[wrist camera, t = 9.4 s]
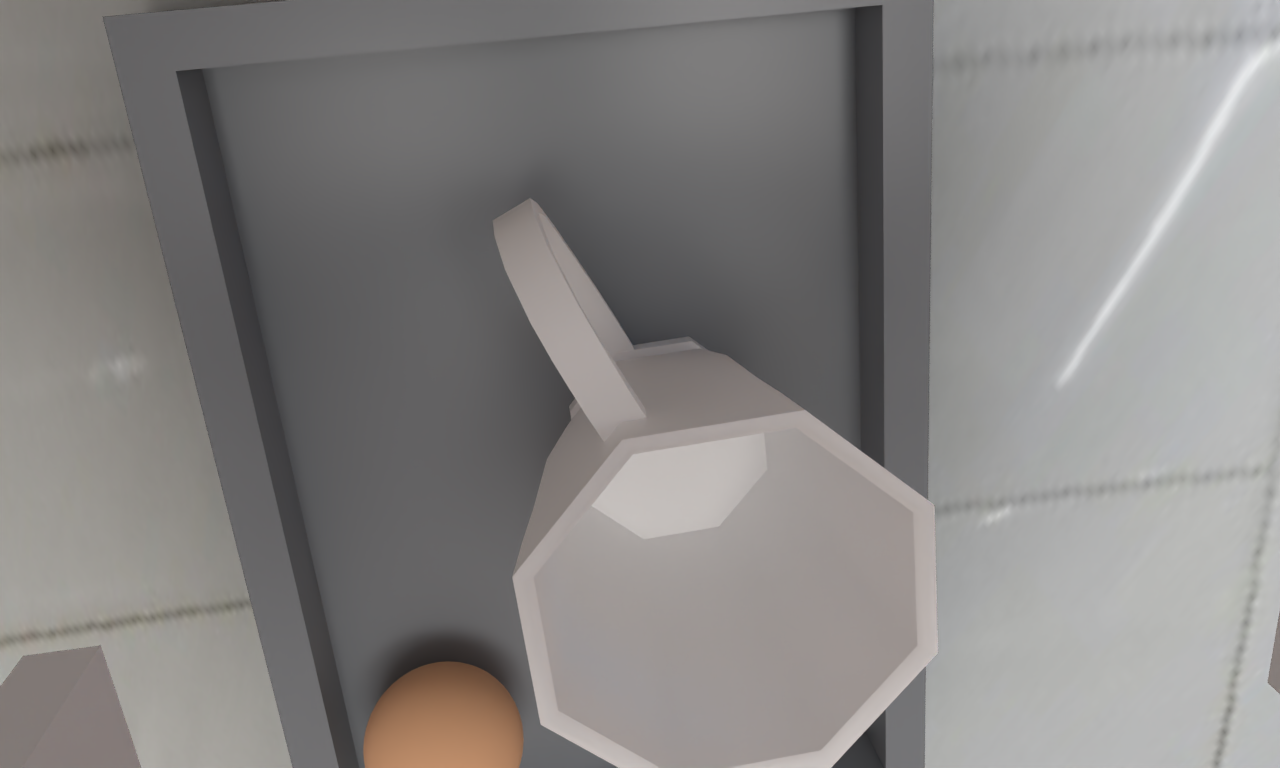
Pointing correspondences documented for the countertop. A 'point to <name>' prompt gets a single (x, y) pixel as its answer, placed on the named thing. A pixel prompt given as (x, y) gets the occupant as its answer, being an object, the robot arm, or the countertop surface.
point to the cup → (705, 550)
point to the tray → (484, 296)
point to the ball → (444, 721)
